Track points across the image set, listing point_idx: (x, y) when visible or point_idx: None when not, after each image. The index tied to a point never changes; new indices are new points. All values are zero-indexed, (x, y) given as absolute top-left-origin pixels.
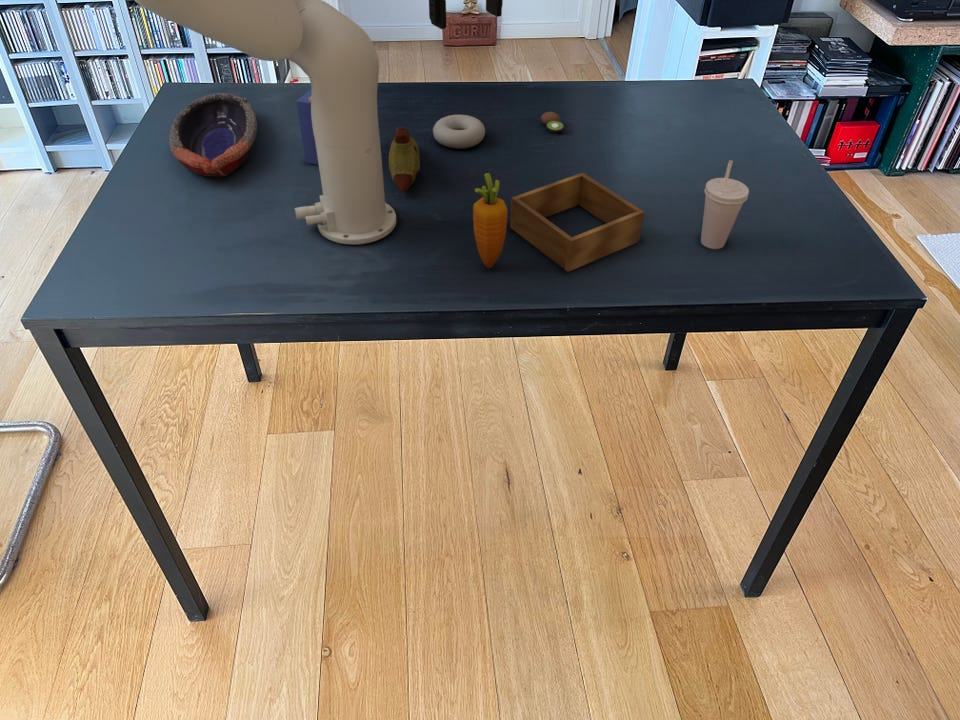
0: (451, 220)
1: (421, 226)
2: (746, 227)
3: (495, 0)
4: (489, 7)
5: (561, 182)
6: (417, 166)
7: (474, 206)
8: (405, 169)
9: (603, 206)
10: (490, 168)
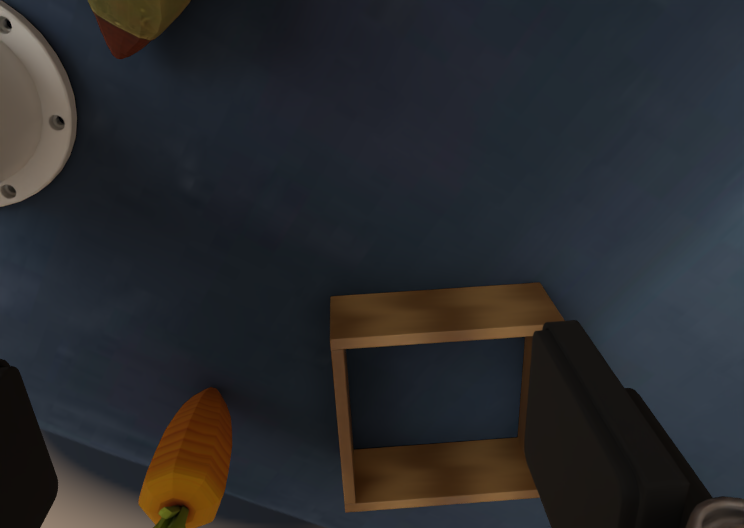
0: (216, 205)
1: (133, 193)
2: (726, 488)
3: (561, 520)
4: (543, 393)
5: (485, 337)
6: (183, 6)
7: (143, 487)
8: (128, 24)
9: None
10: (459, 11)
